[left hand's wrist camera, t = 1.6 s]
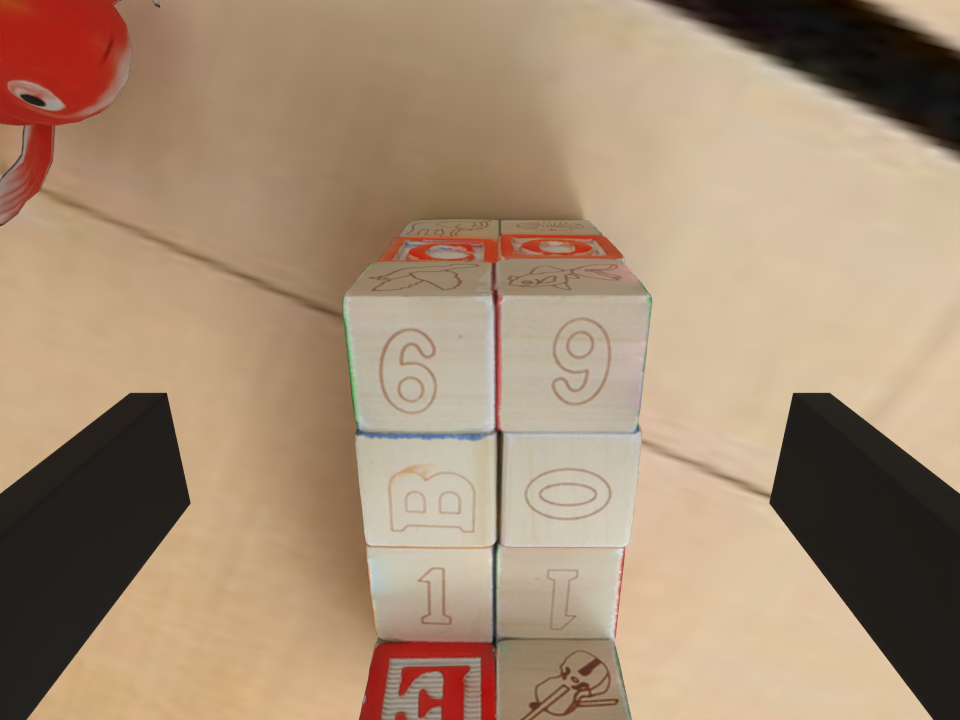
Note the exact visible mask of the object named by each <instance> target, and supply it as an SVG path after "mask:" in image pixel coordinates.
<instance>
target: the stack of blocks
mask: <svg viewBox="0 0 960 720" xmlns="http://www.w3.org/2000/svg"><path fill="white" fill-rule="evenodd" d="M651 307H652V298H651V295H650V294H649V292H648V291H647V290H646V288H645V287H644V286H643V284H642V283H641V282H640V281H639V280H638V279H637V277H636V276H635V275H634V274H633V273H632V272H631V271H630V269H629V268H628V267H627V266H626V265H625V264H624V257H623V255H622V254H621V253H620V252H619V251H618V250H617V248H616V247H615V246H614V245H613V244H612V243H611V242H610V241H609V240H608V239H607V238H606V237H604V236H603V235H602V234H601V233H600V232H599V231H598V230H597V229H596V227H594V226H593V225H592V224H591V223H590V222H589V221H587V220H489V219H435V220H417V221H412V222H409V223H408V224H407V225H406V227H405V228H404V229H403V230H402V232H401V234H400V235H399V237H397V238H395V239H394V240H393V241H392V243H391V244H390V245H389V247H388V248H387V249H386V251H385V252H384V253H383V254H382V256H381V257H380V259H379V260H378V262H376V263H372V264H369V266H368V267H367V268H366V269H365V270H364V272H363V273H362V274H361V275H360V276H359V277H358V279H357V280H356V281H355V283H354V284H353V285H352V286H351V288H350V289H349V290H348V291H347V292H346V294H345V295H344V297H343V318H344V325H345V335H346V344H347V354H348V362H349V371H350V382H351V393H352V401H353V407H354V414H355V420H356V423H357V430H356V434H355V450H356V459H357V468H358V478H359V488H360V496H361V505H362V514H363V522H364V534H365V540H366V562H367V571H368V580H369V589H370V596H371V603H372V611H373V620H374V627H375V630H376V633H377V635H378V641H377V643H376V644H375V647H374V652H373V657H372V661H371V664H370V669H369V677H368V682H367V686H366V691H365V695H364V699H363V702H362V708H361V713H360V717H359V720H632V718H631V713H630V709H629V704H628V700H627V695H626V691H625V686H624V681H623V677H622V672H621V667H620V663H619V658H618V654H617V650H616V646H615V642H614V640H615V636H616V628H617V619H618V610H619V601H620V592H621V583H622V574H623V566H624V556H625V546H626V545H628V544H629V541H630V536H631V528H632V521H633V513H634V505H635V497H636V489H637V480H638V470H639V461H640V452H641V442H642V430H641V428H640V426H639V424H638V418H639V413H640V406H641V397H642V388H643V378H644V369H645V361H646V354H647V341H648V335H649V326H650V316H651Z"/></svg>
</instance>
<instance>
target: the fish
mask: <svg viewBox="0 0 960 720" xmlns="http://www.w3.org/2000/svg"><path fill="white" fill-rule="evenodd" d="M119 1H121V0H0V124H8V125H24V130H23V146H22V153H21V155H20V157H19V158H18V160H17V161H16V163H15V164H14V165H13V166H12V167H11V168H10V169H9V170H8V171H7V172H6V173H5V174H4V175H3V177H2V178H1V180H0V226H2V225H4V224H5V223H7V222H8V221H9V220H11V219H12V218H13V217H15V216H16V215H17V214H18V213H19V211H20V210H21V208H22V207H23V206H24V204H25V203H26V201H27V200H29V199H30V198H32V197H33V196H34V195H35V194H36V193H37V192H39V191H40V190H41V187H42V185H43V183H44V180H45V178H46V175H47V173H48V171H49V168H50V166H51V164H52V162H53V151H54V134H55V125H62V124H68V123H75V122H80V121H82V120H84V119H86V118H88V117H91V116H93V115H96V114H99V113H100V112H101V111H103V110H104V109H106V108H107V107H108V106H109V105H110V104H111V103H112V102H113V101H114V99H115V98H116V96H117V95H118V93H119V92H120V91H121V89H122V88H123V86H124V85H125V83H126V82H127V79H128V76H129V70H130V64H131V58H132V47H131V43H130V39H129V34H128V30H127V26H126V23H125V22H124V20H123V19H122V17H121V16H120V14H119V13H118V11H117V10H116V9H115V7H114V6H113V5H114V4H116V3H118V2H119ZM153 2H154V4H155V6H157V7H160V5H159V2H158V0H153Z"/></svg>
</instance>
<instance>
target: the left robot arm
mask: <svg viewBox="0 0 960 720" xmlns="http://www.w3.org/2000/svg"><path fill="white" fill-rule="evenodd" d="M189 505H190V498H189V494H188V489H187V484H186V480H185V475H184V471H183V466H182V461H181V457H180V452H179V447H178V443H177V438H176V433H175V429H174V424H173V420H172V415H171V410H170V406H169V401H168V396H167V393H130V394H128V395H127V396H126V397H124V398H123V399H122V400H120V401H119V402H118V403H117V404H115V405H114V406H113V407H111V408H110V409H109V410H108V411H106V412H105V413H104V414H102V415H101V416H100V417H99V418H97V419H96V420H95V421H93V422H92V423H91V424H90V425H88V426H87V427H86V428H84V429H83V430H82V431H81V432H79V433H78V434H77V435H75V436H74V437H73V438H72V439H70V440H69V441H68V442H66V443H65V444H64V445H63V446H61V447H60V448H59V449H57V450H56V451H55V452H53V453H52V454H51V455H50V456H48V457H47V458H46V459H44V460H43V461H42V462H41V463H39V464H38V465H37V466H35V467H34V468H33V469H32V470H30V471H29V472H28V473H26V474H25V475H24V476H23V477H21V478H20V479H19V480H17V481H16V482H15V483H14V484H12V485H11V486H10V487H8V488H7V489H6V490H5V491H3V492H2V493H1V494H0V720H27V718H28V717H29V716H30V715H31V713H32V712H33V711H34V709H35V708H36V707H37V705H38V704H39V703H40V701H41V700H42V699H43V697H44V696H45V695H46V693H47V692H48V691H49V689H50V688H51V687H52V685H53V684H54V683H55V682H56V680H57V679H58V678H59V676H60V675H61V674H62V672H63V671H64V670H65V668H66V667H67V666H68V664H69V663H70V662H71V660H72V659H73V658H74V656H75V655H76V654H77V653H78V651H79V650H80V649H81V647H82V646H83V645H84V643H85V642H86V641H87V639H88V638H89V637H90V635H91V634H92V633H93V631H94V630H95V629H96V627H97V626H98V625H99V623H100V622H101V621H102V620H103V618H104V617H105V616H106V614H107V613H108V612H109V610H110V609H111V608H112V606H113V605H114V604H115V602H116V601H117V600H118V598H119V597H120V596H121V594H122V593H123V592H124V590H125V589H126V588H127V587H128V585H129V584H130V583H131V581H132V580H133V579H134V577H135V576H136V575H137V573H138V572H139V571H140V569H141V568H142V567H143V565H144V564H145V563H146V561H147V560H148V559H149V558H150V556H151V555H152V554H153V552H154V551H155V550H156V548H157V547H158V546H159V544H160V543H161V542H162V540H163V539H164V538H165V536H166V535H167V534H168V532H169V531H170V530H171V528H172V527H173V526H174V525H175V523H176V522H177V521H178V519H179V518H180V517H181V515H182V514H183V513H184V511H185V510H186V509H187V507H188V506H189ZM770 505H771V506H772V507H773V509H774V510H775V511H776V513H777V514H778V515H779V517H780V518H781V519H782V521H783V522H784V523H785V525H786V526H787V527H788V528H789V530H790V531H791V532H792V534H793V535H794V536H795V538H796V539H797V540H798V542H799V543H800V544H801V546H802V547H803V548H804V550H805V551H806V552H807V554H808V555H809V556H810V558H811V559H812V560H813V561H814V563H815V564H816V565H817V567H818V568H819V569H820V571H821V572H822V573H823V575H824V576H825V577H826V579H827V580H828V581H829V583H830V584H831V585H832V587H833V588H834V589H835V590H836V592H837V593H838V594H839V596H840V597H841V598H842V600H843V601H844V602H845V604H846V605H847V606H848V608H849V609H850V610H851V612H852V613H853V614H854V616H855V617H856V618H857V620H858V621H859V622H860V623H861V625H862V626H863V627H864V629H865V630H866V631H867V633H868V634H869V635H870V637H871V638H872V639H873V641H874V642H875V643H876V645H877V646H878V647H879V649H880V650H881V651H882V653H883V654H884V655H885V656H886V658H887V659H888V660H889V662H890V663H891V664H892V666H893V667H894V668H895V670H896V671H897V672H898V674H899V675H900V676H901V678H902V679H903V680H904V682H905V683H906V684H907V685H908V687H909V688H910V689H911V691H912V692H913V693H914V695H915V696H916V697H917V699H918V700H919V701H920V703H921V704H922V705H923V707H924V708H925V709H926V711H927V712H928V713H929V715H930V716H931V717H932V718H933V720H960V494H959V493H958V492H957V491H955V490H954V489H953V488H952V487H950V486H949V485H948V484H946V483H945V482H944V481H943V480H941V479H940V478H939V477H937V476H936V475H935V474H934V473H932V472H931V471H930V470H928V469H927V468H926V467H925V466H923V465H922V464H921V463H919V462H918V461H917V460H916V459H914V458H913V457H912V456H910V455H909V454H908V453H907V452H905V451H904V450H903V449H901V448H900V447H899V446H897V445H896V444H895V443H894V442H892V441H891V440H890V439H888V438H887V437H886V436H885V435H883V434H882V433H881V432H879V431H878V430H877V429H876V428H874V427H873V426H872V425H870V424H869V423H868V422H867V421H865V420H864V419H863V418H861V417H860V416H859V415H858V414H856V413H855V412H854V411H852V410H851V409H850V408H849V407H847V406H846V405H845V404H843V403H842V402H841V401H840V400H838V399H837V398H836V397H834V396H833V395H832V394H830V393H793V396H792V401H791V406H790V410H789V415H788V420H787V424H786V429H785V433H784V438H783V443H782V447H781V452H780V457H779V461H778V466H777V470H776V475H775V480H774V484H773V489H772V494H771V498H770Z"/></svg>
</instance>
